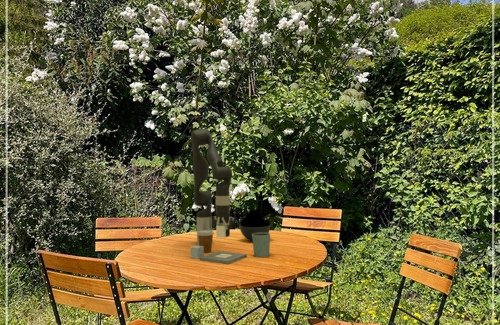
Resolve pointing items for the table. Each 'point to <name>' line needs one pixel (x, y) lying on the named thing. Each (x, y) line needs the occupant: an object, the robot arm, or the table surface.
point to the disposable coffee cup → (205, 239)
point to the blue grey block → (197, 252)
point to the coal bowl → (253, 225)
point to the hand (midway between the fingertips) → (223, 235)
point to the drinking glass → (261, 244)
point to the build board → (223, 257)
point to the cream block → (221, 231)
